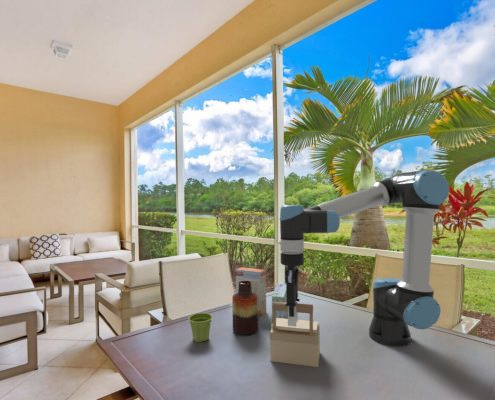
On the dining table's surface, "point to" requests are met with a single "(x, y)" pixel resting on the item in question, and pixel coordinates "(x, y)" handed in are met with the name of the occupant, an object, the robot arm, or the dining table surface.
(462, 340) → the dining table surface
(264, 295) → the cracker box
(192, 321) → the plant pot
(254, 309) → the vase
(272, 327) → the flap
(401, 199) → the robot arm
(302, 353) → the carton
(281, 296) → the snack box
